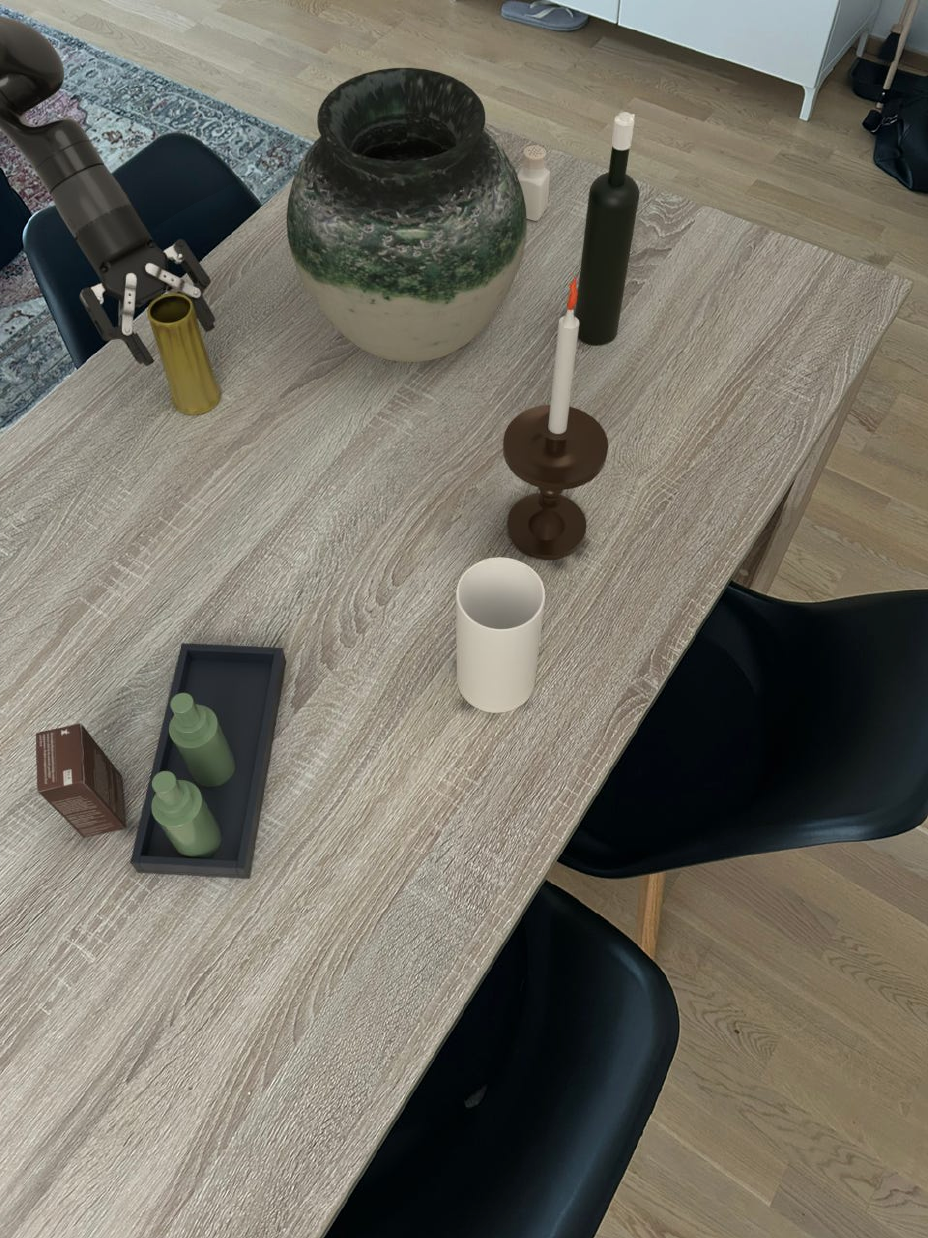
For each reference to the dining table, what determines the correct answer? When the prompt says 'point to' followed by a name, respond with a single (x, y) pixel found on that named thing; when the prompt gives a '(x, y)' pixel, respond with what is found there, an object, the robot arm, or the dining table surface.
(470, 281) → the vase
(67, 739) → the box
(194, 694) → the tray
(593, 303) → the wine bottle
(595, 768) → the dining table surface
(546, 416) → the candlestick
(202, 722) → the bottles
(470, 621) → the cup
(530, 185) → the pepper shaker
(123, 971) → the dining table surface
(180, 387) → the vase
